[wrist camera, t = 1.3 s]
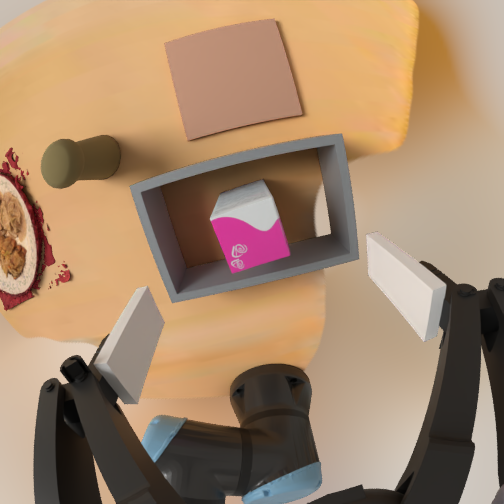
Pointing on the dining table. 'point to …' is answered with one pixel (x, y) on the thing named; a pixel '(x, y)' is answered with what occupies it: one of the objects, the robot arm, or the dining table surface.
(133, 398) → the robot arm
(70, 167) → the cork
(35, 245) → the plate with food
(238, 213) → the supplement box
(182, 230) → the dining table surface
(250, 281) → the rectangular frame
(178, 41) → the mat
